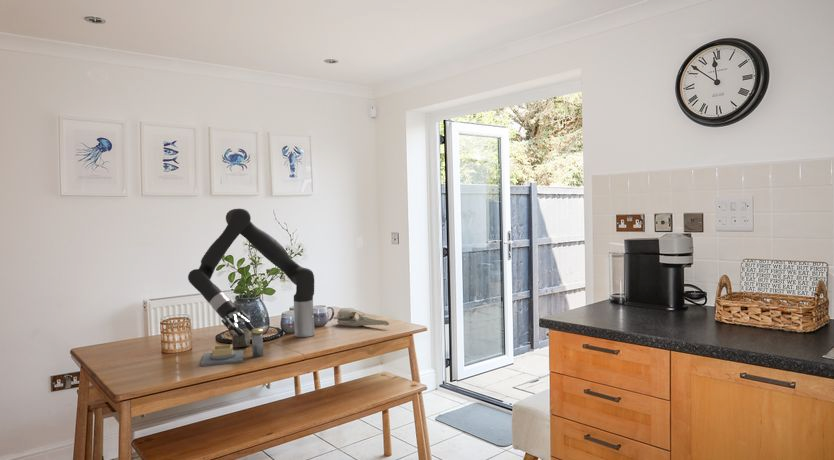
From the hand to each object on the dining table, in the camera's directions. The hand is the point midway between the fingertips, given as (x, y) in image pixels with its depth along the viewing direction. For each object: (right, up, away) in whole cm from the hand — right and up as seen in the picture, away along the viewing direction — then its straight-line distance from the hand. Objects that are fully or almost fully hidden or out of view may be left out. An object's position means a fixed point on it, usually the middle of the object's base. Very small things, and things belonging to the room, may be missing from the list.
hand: (247, 332), depth 229 cm
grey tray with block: (-9, -10, -5) cm, 14 cm away
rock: (-9, -9, +19) cm, 23 cm away
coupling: (+5, -10, -1) cm, 11 cm away
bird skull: (+44, -7, +51) cm, 68 cm away
